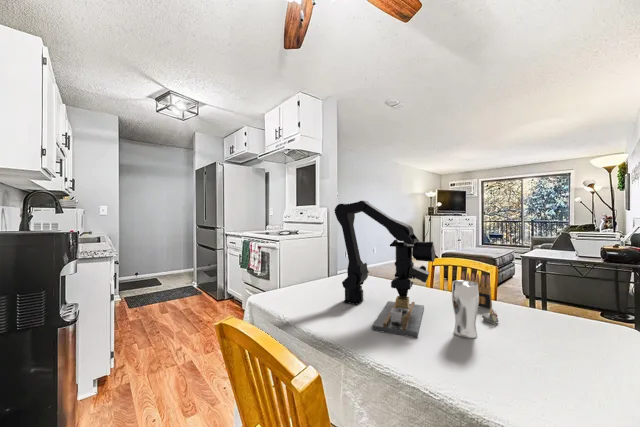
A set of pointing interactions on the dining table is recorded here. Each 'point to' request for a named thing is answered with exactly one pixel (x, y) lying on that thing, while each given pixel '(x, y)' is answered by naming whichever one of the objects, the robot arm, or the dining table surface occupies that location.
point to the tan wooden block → (402, 302)
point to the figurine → (490, 316)
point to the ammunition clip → (486, 290)
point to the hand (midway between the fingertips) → (404, 302)
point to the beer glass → (465, 308)
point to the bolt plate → (406, 326)
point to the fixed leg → (396, 315)
